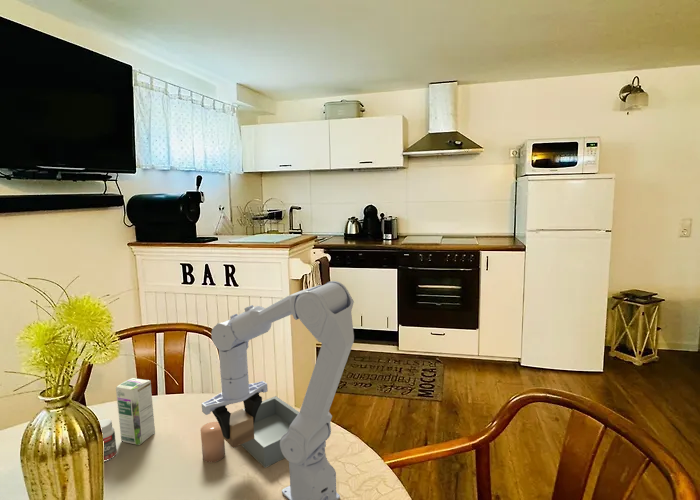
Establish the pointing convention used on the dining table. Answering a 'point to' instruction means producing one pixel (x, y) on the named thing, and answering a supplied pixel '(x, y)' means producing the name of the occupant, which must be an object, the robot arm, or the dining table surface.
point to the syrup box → (135, 410)
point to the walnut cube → (240, 428)
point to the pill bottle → (108, 438)
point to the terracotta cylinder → (212, 442)
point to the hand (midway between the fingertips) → (238, 431)
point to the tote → (270, 430)
